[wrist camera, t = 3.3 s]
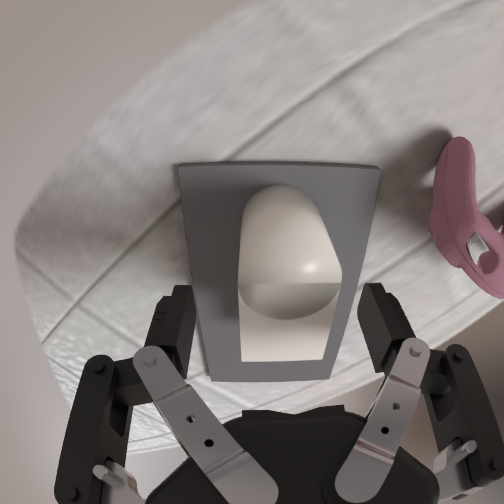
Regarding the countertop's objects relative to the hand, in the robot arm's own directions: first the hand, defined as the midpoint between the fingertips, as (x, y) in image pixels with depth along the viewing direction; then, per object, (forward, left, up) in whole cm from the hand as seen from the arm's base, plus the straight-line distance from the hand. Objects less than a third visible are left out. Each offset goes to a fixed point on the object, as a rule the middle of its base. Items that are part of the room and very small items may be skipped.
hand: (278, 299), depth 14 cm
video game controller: (-3, +13, -4) cm, 14 cm away
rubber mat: (+4, 0, -4) cm, 6 cm away
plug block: (0, 0, -4) cm, 4 cm away
